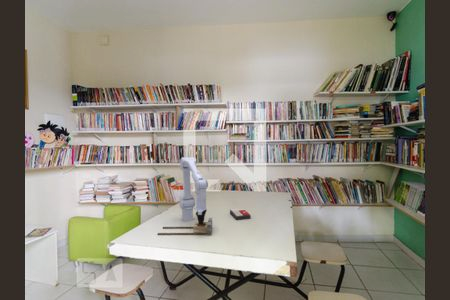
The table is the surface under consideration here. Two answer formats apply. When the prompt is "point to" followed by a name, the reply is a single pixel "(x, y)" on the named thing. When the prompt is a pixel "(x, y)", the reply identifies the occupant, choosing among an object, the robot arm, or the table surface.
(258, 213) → the table surface
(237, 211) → the hard drive
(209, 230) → the rail board
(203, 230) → the wooden square frame
